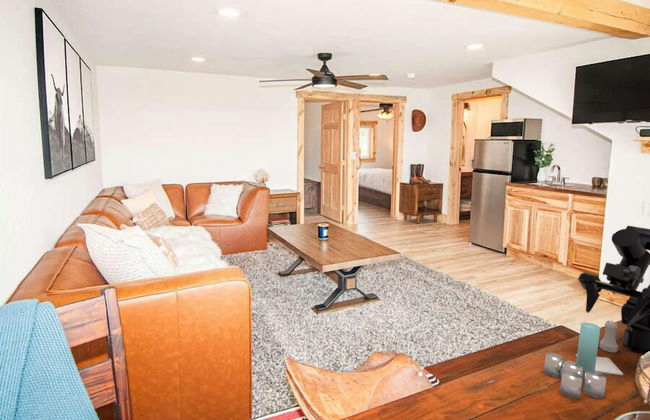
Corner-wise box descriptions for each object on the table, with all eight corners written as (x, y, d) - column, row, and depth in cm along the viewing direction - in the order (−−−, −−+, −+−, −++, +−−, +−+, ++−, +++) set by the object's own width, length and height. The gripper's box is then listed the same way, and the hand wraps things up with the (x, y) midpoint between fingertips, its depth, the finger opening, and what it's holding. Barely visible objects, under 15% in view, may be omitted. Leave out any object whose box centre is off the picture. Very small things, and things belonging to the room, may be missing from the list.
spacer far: (576, 389, 95) (578, 372, 94) (583, 400, 91) (585, 381, 90) (557, 387, 96) (559, 369, 95) (563, 397, 92) (565, 379, 91)
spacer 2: (577, 378, 99) (579, 361, 99) (583, 388, 96) (585, 370, 95) (559, 376, 100) (561, 359, 100) (564, 385, 96) (566, 368, 96)
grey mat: (608, 359, 109) (608, 358, 109) (622, 375, 101) (623, 373, 101) (575, 355, 111) (575, 354, 111) (587, 370, 103) (587, 369, 103)
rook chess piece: (612, 346, 117) (615, 319, 115) (621, 353, 112) (625, 326, 111) (595, 345, 117) (599, 318, 116) (604, 352, 113) (608, 325, 111)
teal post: (590, 372, 102) (596, 323, 100) (596, 380, 99) (603, 330, 97) (572, 370, 103) (578, 321, 101) (578, 378, 100) (584, 328, 98)
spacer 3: (599, 389, 95) (601, 371, 94) (607, 399, 91) (609, 381, 91) (580, 386, 96) (582, 369, 95) (587, 396, 92) (589, 378, 92)
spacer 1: (559, 370, 103) (561, 353, 102) (564, 378, 99) (566, 361, 99) (541, 368, 104) (543, 351, 103) (546, 376, 100) (548, 359, 100)
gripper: (584, 243, 111) (558, 290, 107) (668, 260, 95) (640, 316, 91) (597, 265, 116) (572, 311, 112) (678, 285, 100) (653, 338, 97)
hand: (606, 318), depth 103 cm, fingers open, 9 cm apart
